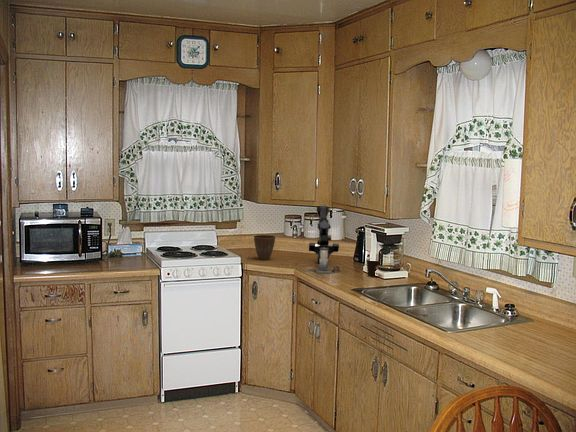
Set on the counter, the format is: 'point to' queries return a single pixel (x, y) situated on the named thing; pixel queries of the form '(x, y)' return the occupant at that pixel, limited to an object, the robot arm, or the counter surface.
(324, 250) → the steel canister
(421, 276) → the counter surface
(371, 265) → the coffee mug
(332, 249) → the robot arm
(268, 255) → the plant pot
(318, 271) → the slate pad
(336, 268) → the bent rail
